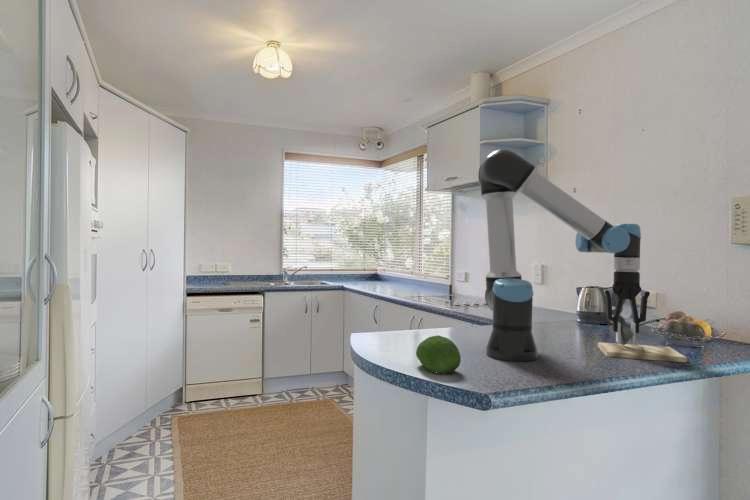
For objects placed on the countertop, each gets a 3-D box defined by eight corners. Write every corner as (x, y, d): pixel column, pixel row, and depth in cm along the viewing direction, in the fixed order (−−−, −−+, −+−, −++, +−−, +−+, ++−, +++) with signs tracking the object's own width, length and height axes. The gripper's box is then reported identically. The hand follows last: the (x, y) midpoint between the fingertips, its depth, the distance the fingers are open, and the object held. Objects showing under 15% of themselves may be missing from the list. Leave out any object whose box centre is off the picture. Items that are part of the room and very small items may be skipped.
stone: (635, 350, 149) (636, 319, 148) (621, 349, 150) (622, 318, 150) (627, 344, 159) (628, 314, 159) (614, 343, 160) (615, 313, 160)
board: (606, 356, 148) (607, 351, 148) (597, 346, 164) (597, 342, 164) (686, 362, 142) (686, 357, 142) (669, 351, 158) (669, 346, 158)
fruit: (407, 367, 131) (407, 331, 131) (438, 364, 134) (439, 329, 134) (433, 381, 117) (434, 341, 117) (467, 378, 120) (468, 339, 120)
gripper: (600, 270, 153) (599, 342, 153) (659, 272, 148) (657, 346, 148) (596, 269, 160) (595, 338, 160) (652, 271, 155) (650, 341, 155)
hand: (625, 342), depth 154 cm, fingers closed on stone, 4 cm apart
